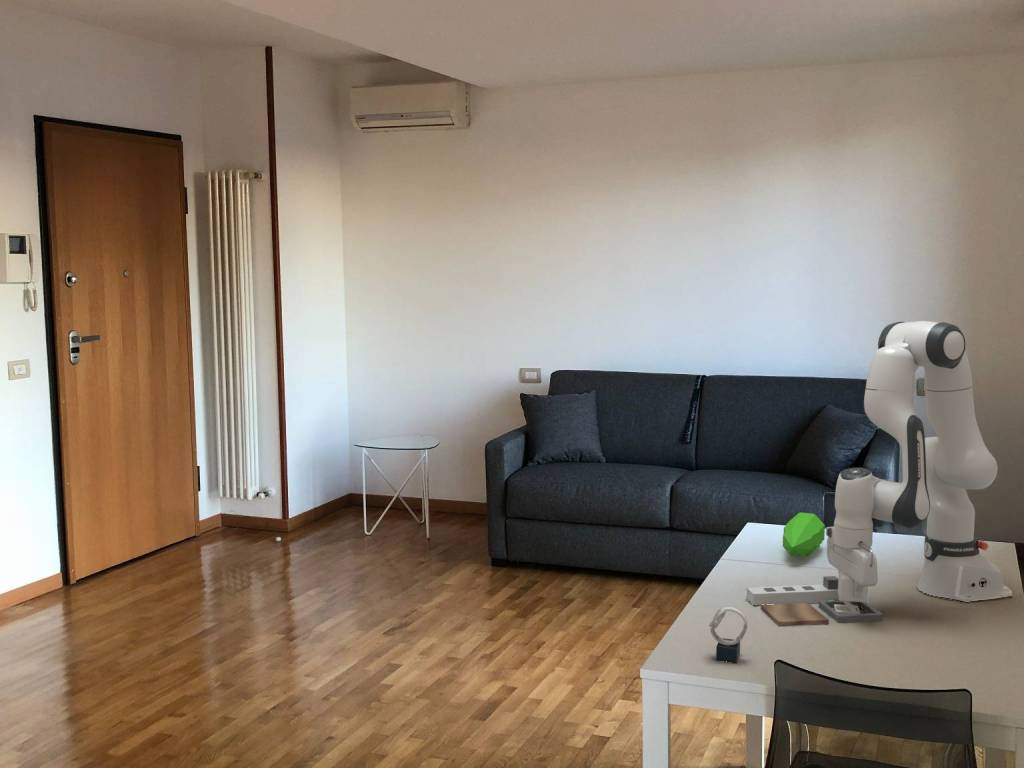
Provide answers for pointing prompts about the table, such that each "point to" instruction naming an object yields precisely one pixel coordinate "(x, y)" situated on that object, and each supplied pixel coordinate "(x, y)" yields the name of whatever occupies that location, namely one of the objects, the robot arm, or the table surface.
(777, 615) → the walnut pad
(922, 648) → the table surface
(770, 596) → the power strip
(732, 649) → the watch
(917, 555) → the table surface
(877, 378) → the robot arm
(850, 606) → the security camera
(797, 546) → the green faceted elongated piece
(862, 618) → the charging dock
